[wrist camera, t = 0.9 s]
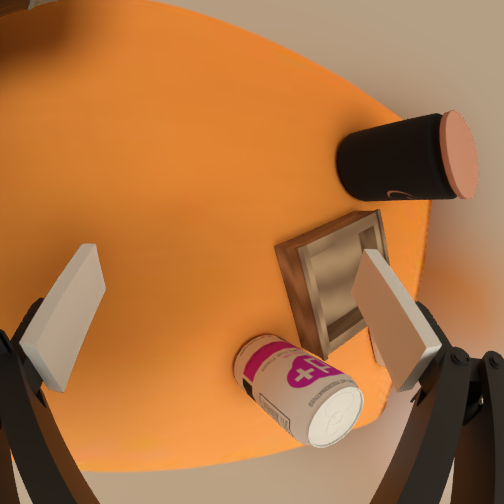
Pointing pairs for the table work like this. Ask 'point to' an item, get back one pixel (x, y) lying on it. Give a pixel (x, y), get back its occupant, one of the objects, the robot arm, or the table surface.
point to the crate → (329, 278)
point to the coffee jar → (411, 160)
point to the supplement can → (298, 390)
